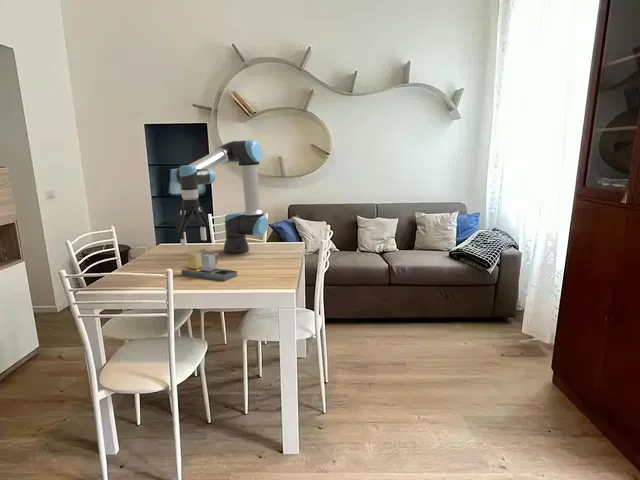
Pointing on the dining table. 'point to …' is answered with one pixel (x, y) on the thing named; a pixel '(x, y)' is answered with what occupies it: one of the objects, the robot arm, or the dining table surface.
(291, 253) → the dining table surface
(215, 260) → the rock
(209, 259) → the grey square-ended block
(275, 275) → the dining table surface
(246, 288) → the dining table surface
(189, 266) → the tan rectangular block
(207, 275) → the grey block rack
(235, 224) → the robot arm
